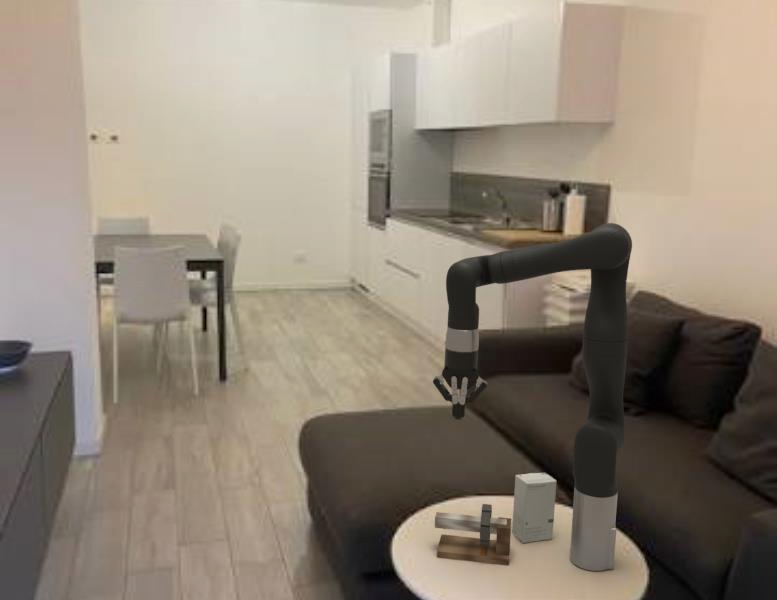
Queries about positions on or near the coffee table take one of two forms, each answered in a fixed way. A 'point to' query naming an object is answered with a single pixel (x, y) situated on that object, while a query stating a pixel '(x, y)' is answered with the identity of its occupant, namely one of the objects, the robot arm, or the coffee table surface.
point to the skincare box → (533, 507)
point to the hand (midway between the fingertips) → (458, 418)
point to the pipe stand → (473, 539)
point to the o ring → (485, 525)
